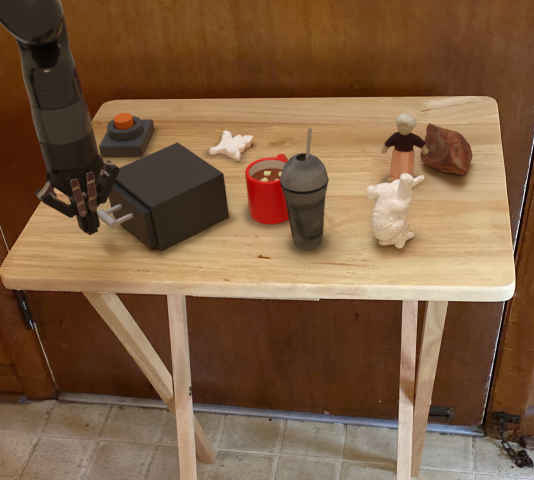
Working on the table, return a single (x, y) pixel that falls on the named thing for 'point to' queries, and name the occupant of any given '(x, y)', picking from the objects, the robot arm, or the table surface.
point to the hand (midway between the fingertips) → (90, 231)
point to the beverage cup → (305, 197)
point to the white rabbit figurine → (392, 210)
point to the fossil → (446, 150)
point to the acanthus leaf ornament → (232, 145)
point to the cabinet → (176, 192)
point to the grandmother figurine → (403, 147)
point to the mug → (266, 190)
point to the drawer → (129, 215)
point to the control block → (127, 138)
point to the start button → (123, 121)
